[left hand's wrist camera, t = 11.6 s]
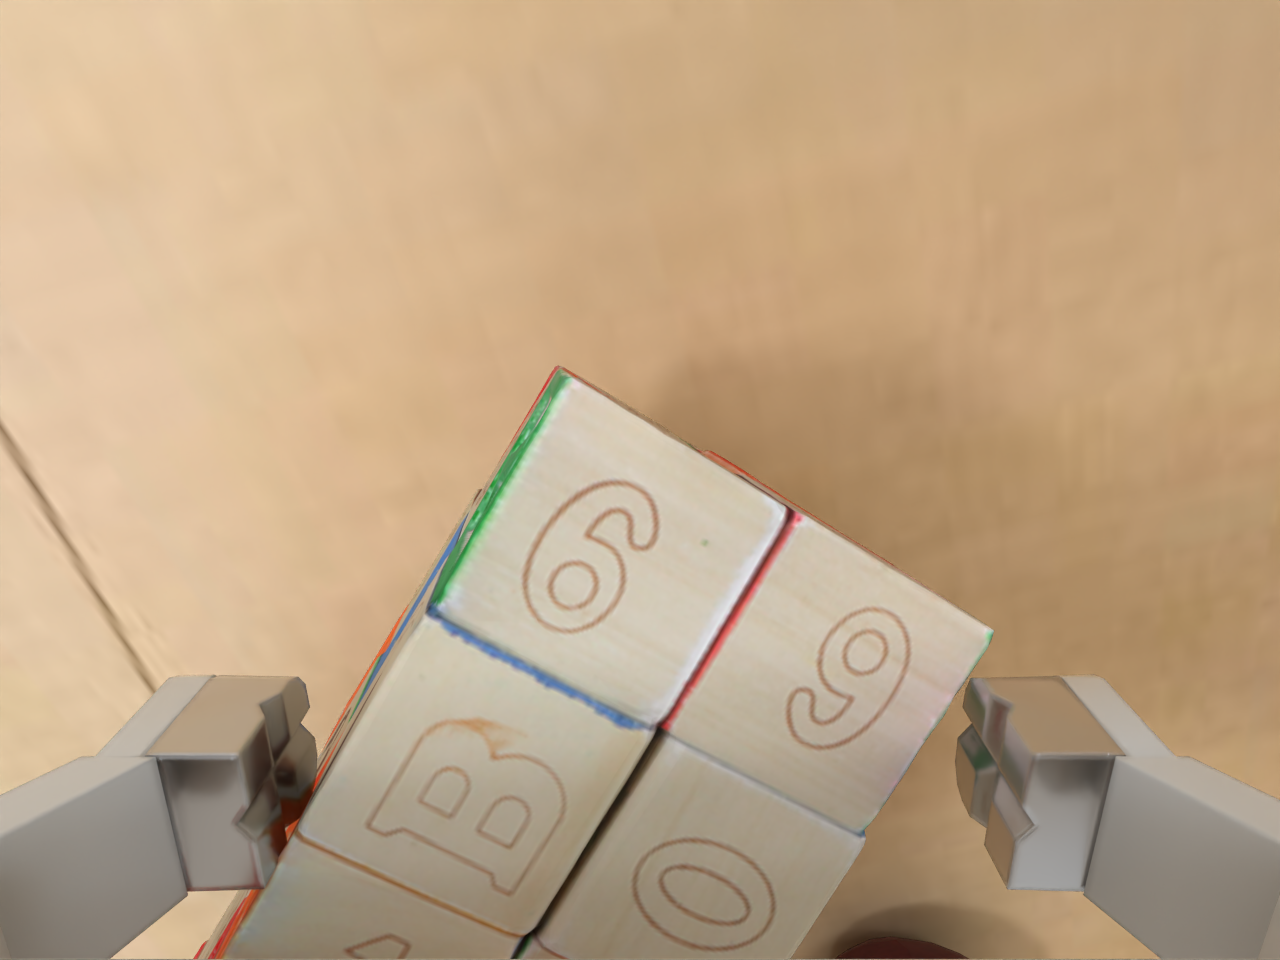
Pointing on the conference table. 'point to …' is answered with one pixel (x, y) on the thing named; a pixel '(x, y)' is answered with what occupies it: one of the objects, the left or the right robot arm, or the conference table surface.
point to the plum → (899, 950)
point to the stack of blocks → (613, 719)
